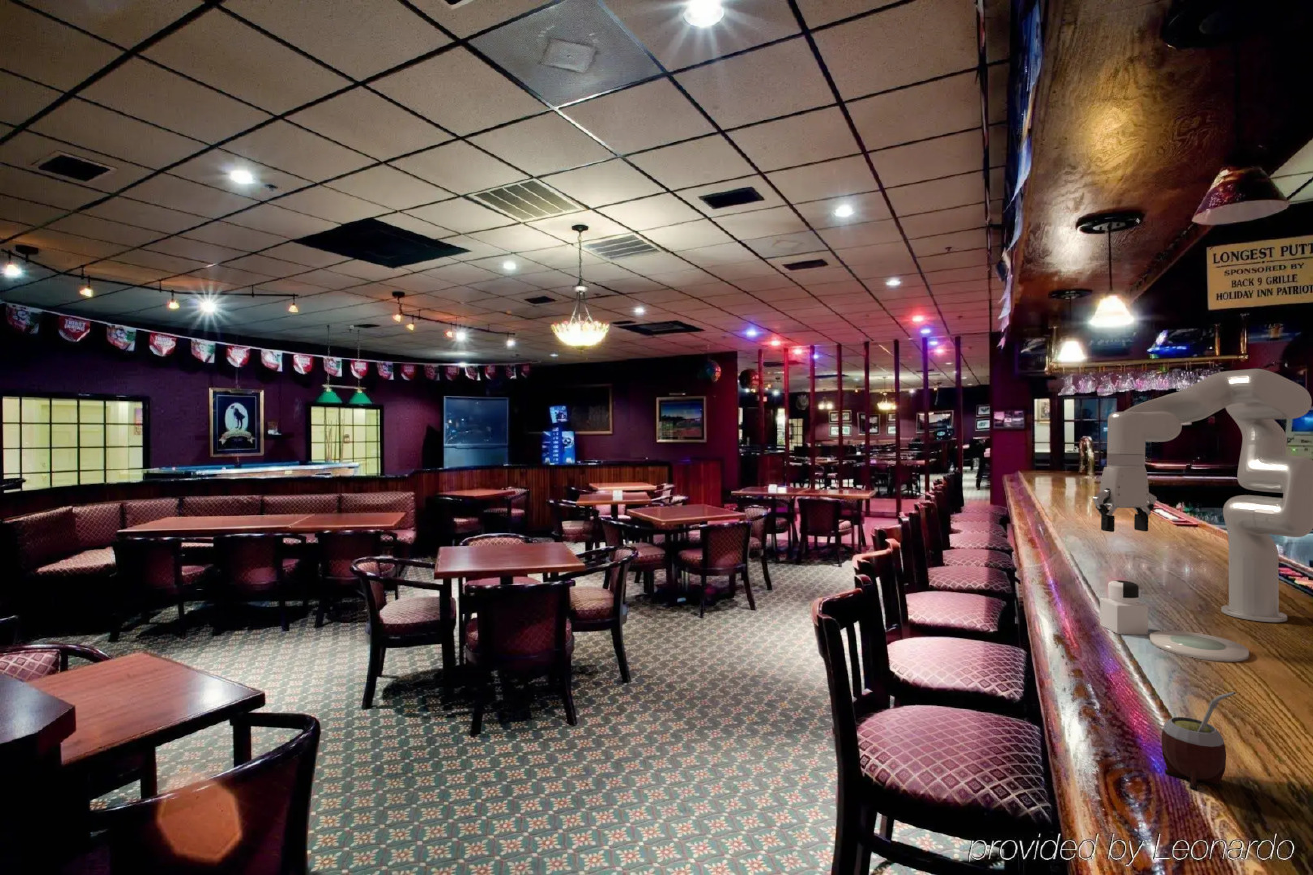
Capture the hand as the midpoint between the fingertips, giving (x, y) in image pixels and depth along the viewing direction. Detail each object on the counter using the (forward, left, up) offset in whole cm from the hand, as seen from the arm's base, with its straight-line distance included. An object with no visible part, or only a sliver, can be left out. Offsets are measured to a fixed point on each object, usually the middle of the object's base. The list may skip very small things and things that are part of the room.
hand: (1124, 530), depth 156 cm
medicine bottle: (0, 0, -25) cm, 25 cm away
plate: (+5, +14, -25) cm, 29 cm away
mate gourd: (+75, +16, -25) cm, 81 cm away
